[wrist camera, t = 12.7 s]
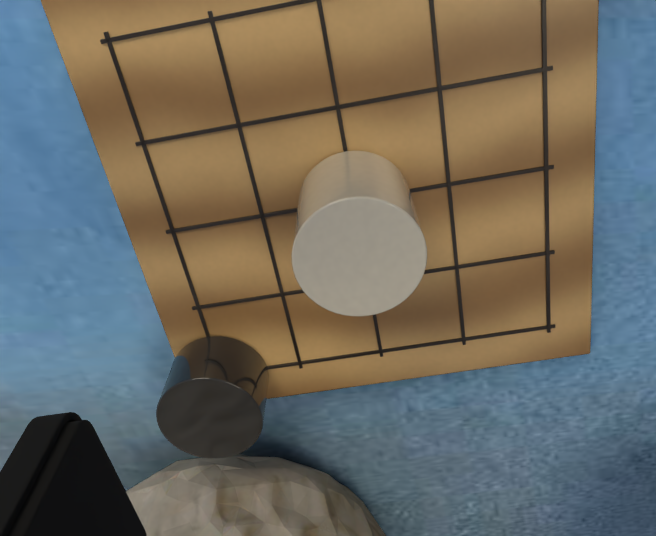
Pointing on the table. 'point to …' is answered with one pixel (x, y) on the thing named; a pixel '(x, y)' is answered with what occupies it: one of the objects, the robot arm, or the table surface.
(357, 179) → the beige cylinder
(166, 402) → the black stone
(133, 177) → the board
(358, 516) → the ceramic vessel
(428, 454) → the table surface
